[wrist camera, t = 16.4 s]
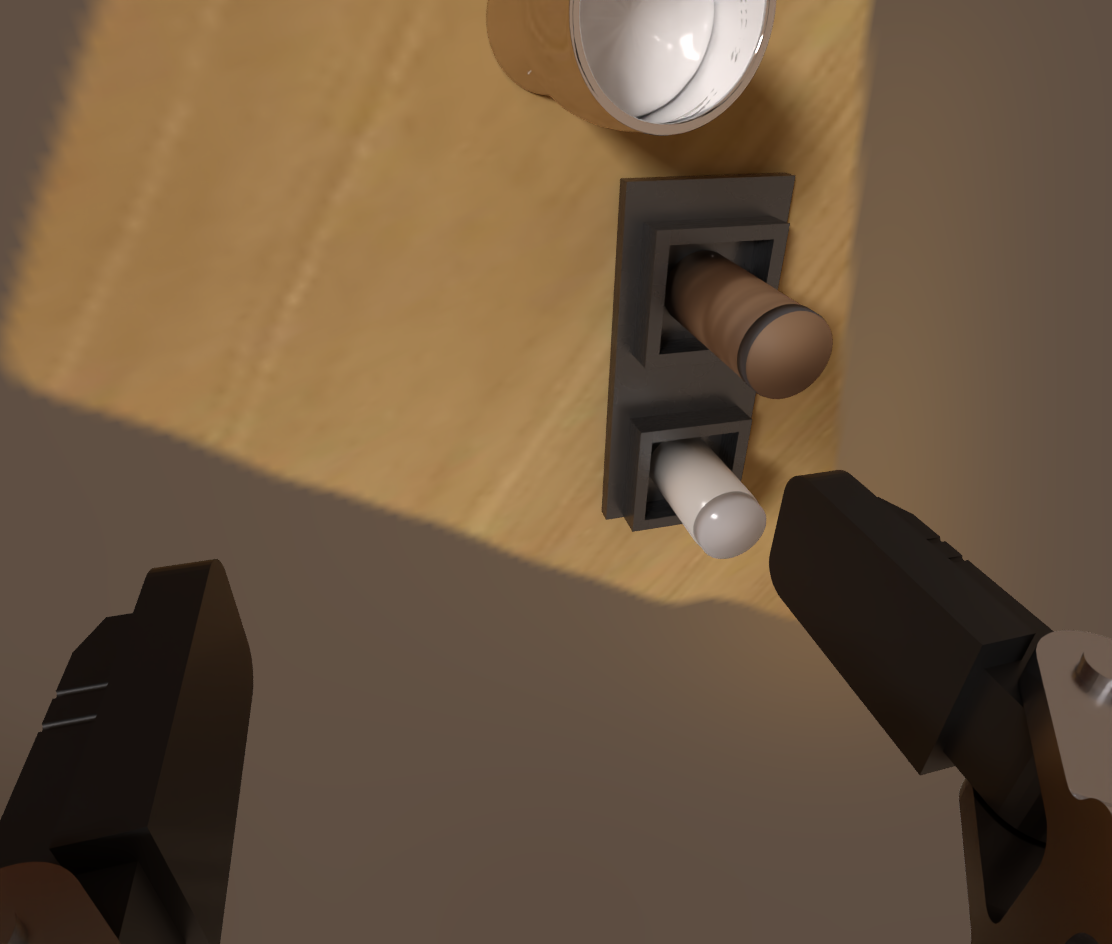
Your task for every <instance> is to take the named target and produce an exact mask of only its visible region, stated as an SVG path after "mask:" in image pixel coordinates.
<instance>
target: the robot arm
mask: <svg viewBox="0 0 1112 944" xmlns="http://www.w3.org/2000/svg"><path fill="white" fill-rule="evenodd" d="M769 569H770V575H771V579H772V582H773V585H774V587H775V590H776V591H777V593H778V595H779V596H780V598H781V599H782V600H783V602H784V603H785V604H786V605H787V607H788V608H789V609H790V611H791V612H792V613H793V614H794V616H795V617H796V618H797V619H798V621H799V622H800V623H801V624H802V626H803V627H804V628H805V629H806V631H807V632H808V633H809V635H810V636H811V637H812V639H813V640H814V641H815V642H816V644H817V645H818V646H819V647H820V648H821V650H822V651H823V653H824V654H825V655H826V656H827V658H828V659H829V660H830V661H831V663H832V664H833V665H834V667H835V668H836V669H837V670H838V672H839V673H840V674H841V675H842V677H843V678H844V679H845V680H846V682H847V683H848V684H849V686H850V687H851V688H852V689H853V691H854V692H855V693H856V695H857V696H858V697H859V698H860V700H861V701H862V702H863V703H864V705H865V706H866V707H867V709H868V710H869V711H870V712H871V714H872V715H873V716H874V717H875V719H876V720H877V721H878V722H879V724H880V725H881V726H882V728H883V729H884V730H885V731H886V733H887V734H888V735H889V737H890V738H891V739H892V740H893V742H894V743H895V744H896V746H897V747H898V748H899V749H900V751H901V752H902V753H903V754H904V755H905V757H906V758H907V759H908V761H909V762H910V763H911V765H912V766H913V767H914V768H915V770H916V771H917V772H918V774H919V775H923V774H927V773H931V772H934V771H938V770H942V769H945V768H949V767H953V766H956V767H957V768H958V769H959V771H960V772H961V773H962V774H963V776H965V779H964V781H963V783H962V785H961V788H960V791H959V806H960V817H961V828H962V839H963V850H964V860H965V872H966V883H967V894H968V904H969V915H970V926H971V944H1112V639H1110V638H1107V637H1104V636H1101V635H1097V634H1094V633H1089V632H1084V631H1075V630H1061V631H1056V632H1054V631H1052V630H1051V629H1050V628H1049V627H1048V626H1046V625H1045V624H1044V623H1043V622H1042V621H1040V620H1039V619H1038V618H1037V617H1035V616H1034V615H1033V614H1032V613H1031V612H1030V611H1028V610H1027V609H1026V608H1025V607H1024V606H1022V605H1021V604H1020V603H1019V602H1018V601H1016V600H1015V599H1014V598H1013V597H1012V596H1010V595H1009V594H1008V593H1007V592H1006V591H1004V590H1003V589H1002V588H1001V587H999V586H998V585H997V584H996V583H995V582H994V581H992V580H991V579H990V578H989V577H987V576H986V575H985V574H984V573H983V572H982V571H980V570H979V569H978V568H977V567H975V566H974V565H973V564H972V563H971V562H970V561H968V560H966V561H964V560H963V559H962V555H961V554H960V553H959V552H957V550H955V549H954V548H953V547H952V546H951V545H949V544H948V543H947V542H945V541H944V542H941V541H940V536H939V535H937V534H936V533H935V532H934V531H933V530H931V529H930V528H929V527H928V526H927V525H925V524H924V523H923V522H922V521H921V520H919V519H918V518H917V517H916V516H914V515H913V514H911V513H909V512H907V511H905V510H903V509H901V508H899V507H897V506H895V505H893V504H891V503H889V502H887V501H885V500H883V499H881V498H879V497H876V496H875V495H874V494H873V493H872V492H870V491H869V490H868V489H867V488H866V487H865V486H864V485H862V484H861V483H860V482H859V481H858V480H857V479H855V478H854V477H853V476H852V475H851V474H849V473H848V472H846V471H843V470H835V471H828V472H821V473H815V474H808V475H801V476H795V477H793V478H791V479H790V480H789V481H788V483H787V485H786V487H785V490H784V494H783V498H782V503H781V507H780V512H779V516H778V521H777V525H776V529H775V534H774V538H773V543H772V547H771V552H770V557H769ZM56 692H57V698H55V699H52V702H51V704H50V706H49V709H48V711H47V713H46V716H45V718H44V720H43V722H42V725H43V730H42V732H38V734H37V737H36V739H35V742H34V743H33V746H32V748H31V750H30V753H29V755H28V757H27V760H26V762H25V764H24V767H23V769H22V771H21V774H20V776H19V778H18V780H17V783H16V785H15V787H14V790H13V792H12V794H11V797H10V799H9V801H8V804H7V806H6V809H5V811H4V814H3V815H2V817H1V820H0V944H220V939H221V931H222V924H223V916H224V909H225V901H226V893H227V886H228V878H229V871H230V863H231V855H232V848H233V839H234V832H235V825H236V817H237V809H238V802H239V794H240V786H241V779H242V771H243V764H244V756H245V748H246V741H247V733H248V726H249V718H250V710H251V703H252V695H253V667H252V658H251V653H250V648H249V644H248V641H247V638H246V634H245V631H244V628H243V625H242V622H241V619H240V616H239V612H238V609H237V606H236V603H235V600H234V597H233V594H232V591H231V587H230V584H229V581H228V578H227V575H226V572H225V569H224V567H223V565H222V563H221V562H220V561H219V560H218V559H213V560H206V561H199V562H192V563H185V564H179V565H172V566H165V567H158V568H152V569H151V570H150V571H149V572H148V573H147V576H146V578H145V581H144V584H143V586H142V589H141V592H140V595H139V598H138V600H137V603H136V606H135V609H134V612H133V613H131V614H124V615H118V616H112V617H106V618H105V619H104V620H103V621H102V622H101V623H100V624H99V626H97V628H96V629H95V630H94V631H93V632H92V633H91V634H90V635H89V636H88V637H87V638H86V639H85V640H84V641H83V642H82V643H81V644H80V645H79V646H78V648H77V649H76V650H75V651H74V652H73V653H72V655H71V658H70V660H69V662H68V665H67V667H66V669H65V672H64V674H63V676H62V679H61V681H60V683H59V685H58V688H57V690H56Z"/></svg>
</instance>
